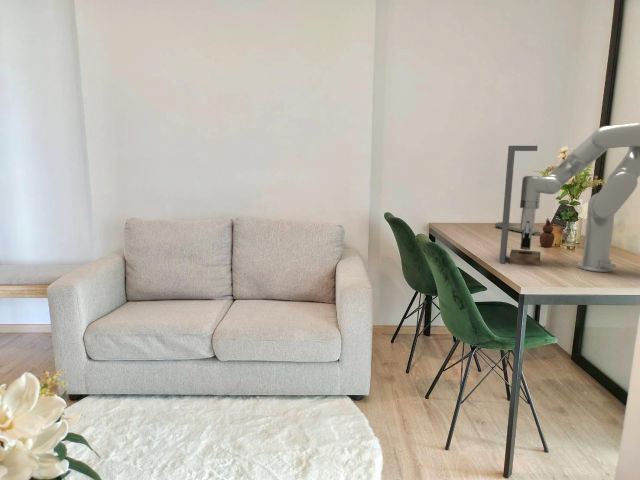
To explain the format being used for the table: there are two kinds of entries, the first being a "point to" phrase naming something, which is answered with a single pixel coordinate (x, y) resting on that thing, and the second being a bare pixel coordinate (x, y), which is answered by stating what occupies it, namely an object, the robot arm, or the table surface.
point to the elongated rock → (516, 228)
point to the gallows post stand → (509, 196)
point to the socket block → (525, 257)
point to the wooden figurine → (547, 235)
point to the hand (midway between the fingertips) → (525, 246)
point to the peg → (524, 237)
